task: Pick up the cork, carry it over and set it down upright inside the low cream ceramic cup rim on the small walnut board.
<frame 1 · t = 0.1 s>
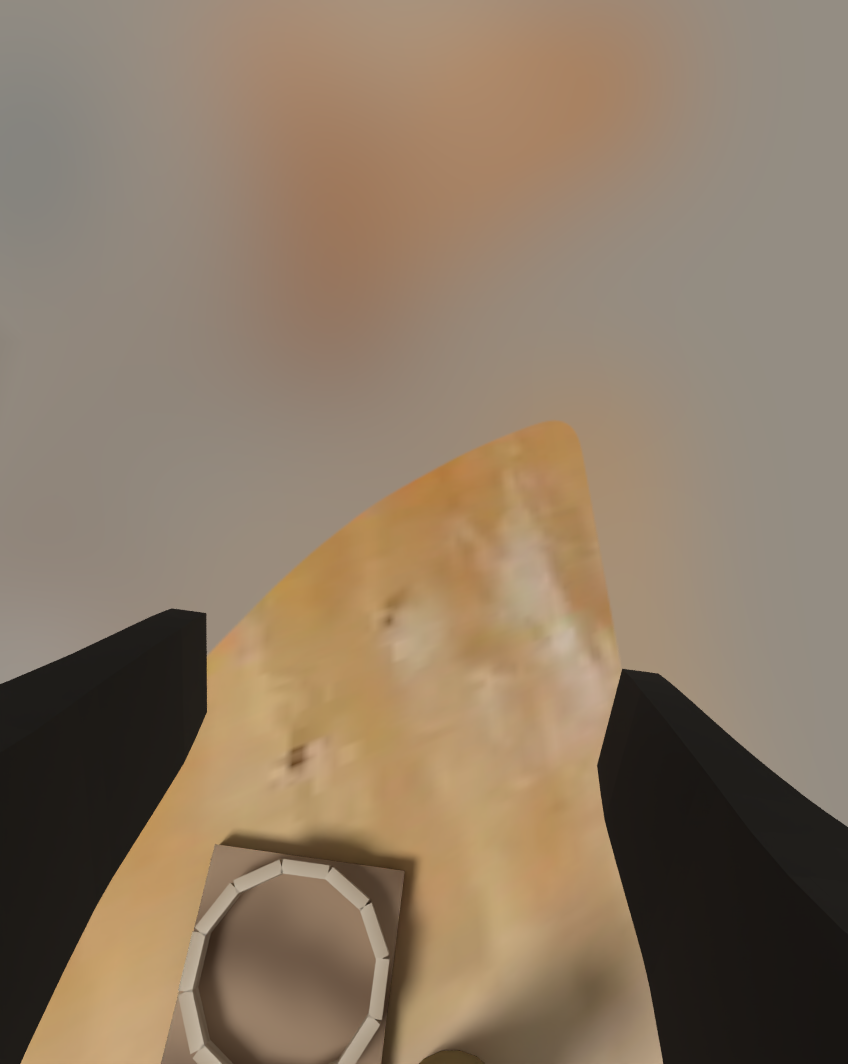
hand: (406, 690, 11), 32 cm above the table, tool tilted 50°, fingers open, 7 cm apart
cup holder: (291, 969, 36), on the table
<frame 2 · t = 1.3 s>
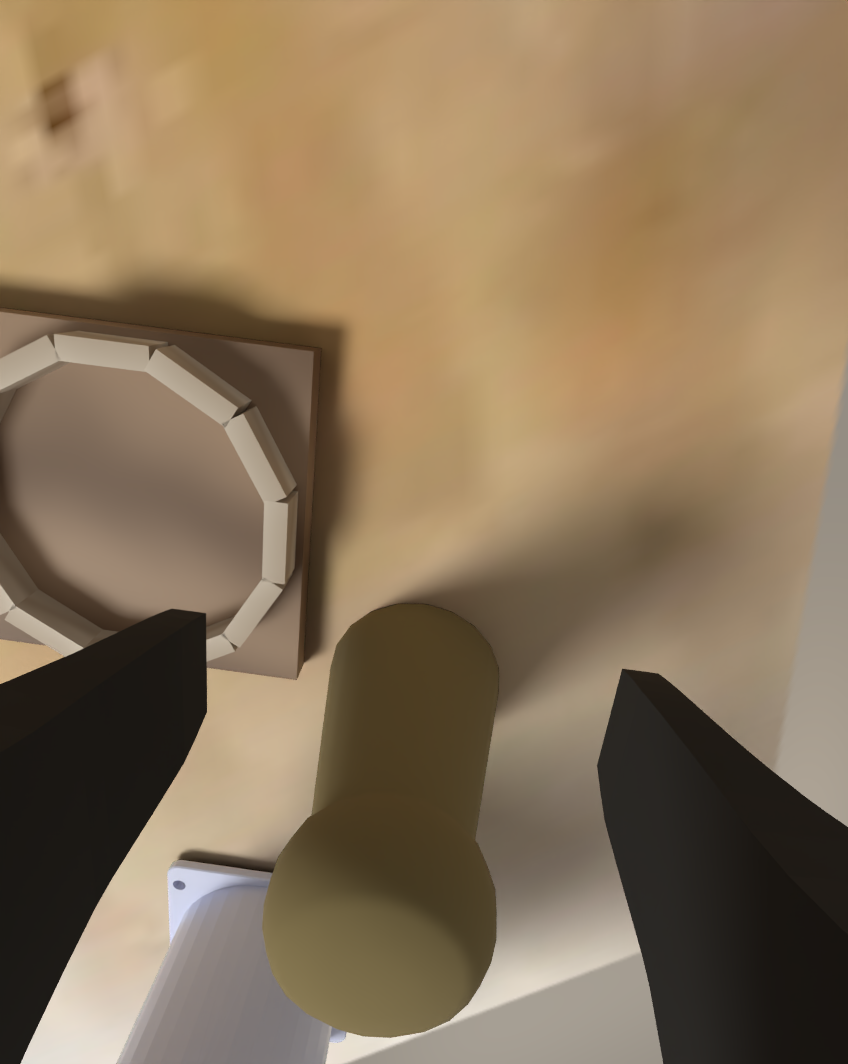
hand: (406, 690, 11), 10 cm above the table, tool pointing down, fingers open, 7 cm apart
cork: (414, 675, 24), on the table
cup holder: (146, 499, 22), on the table
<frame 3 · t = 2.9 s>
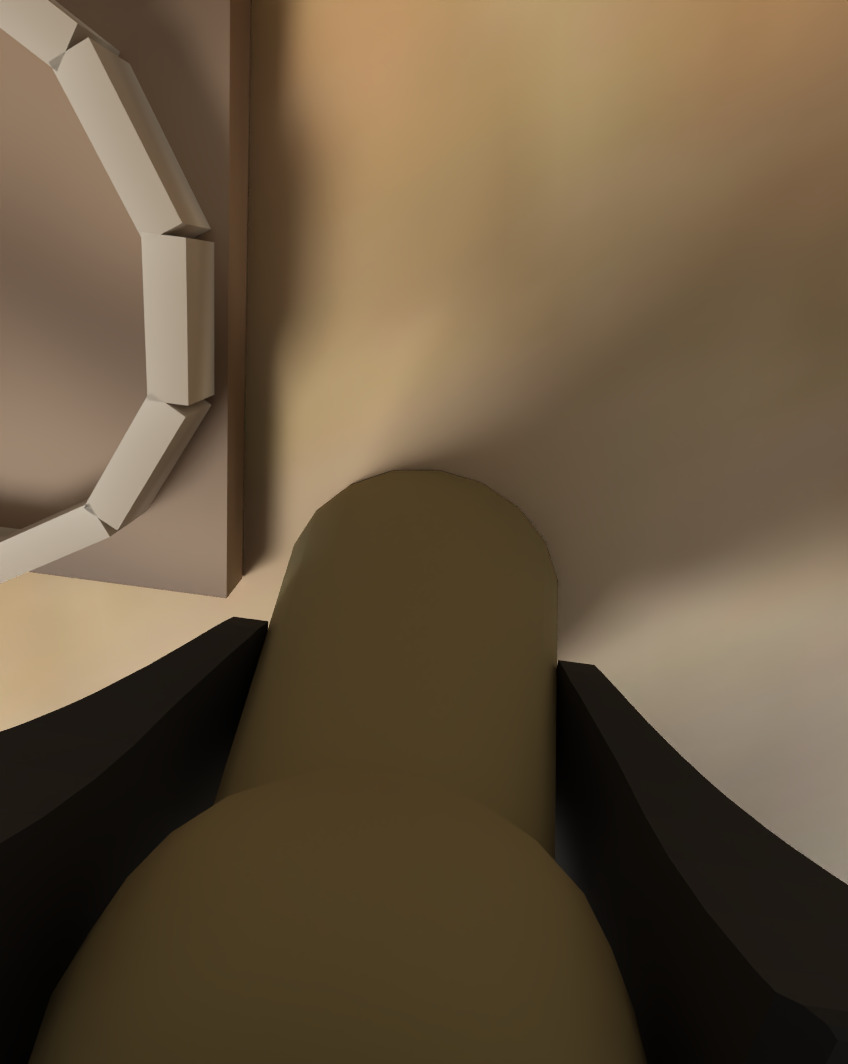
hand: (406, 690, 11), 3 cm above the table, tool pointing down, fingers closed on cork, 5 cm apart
cork: (421, 597, 15), on the table, touching gripper
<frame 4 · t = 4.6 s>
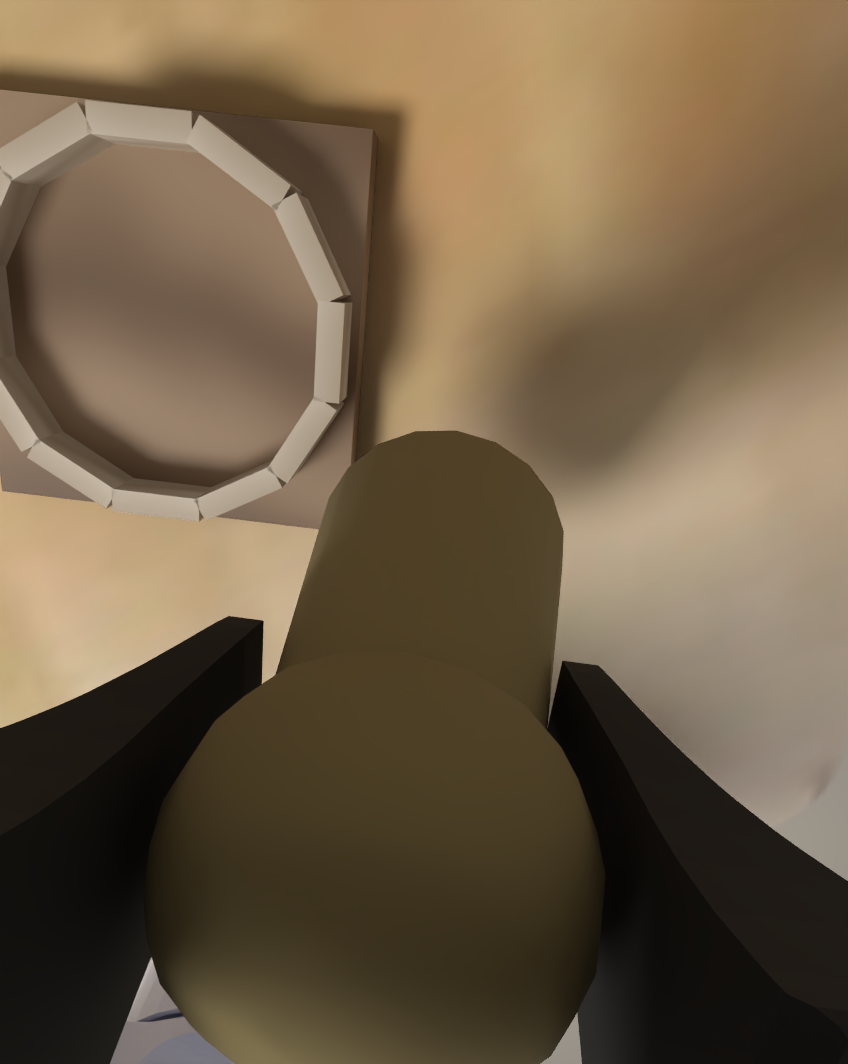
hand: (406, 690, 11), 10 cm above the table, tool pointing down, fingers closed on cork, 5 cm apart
cork: (441, 545, 16), point 5 cm above the table, touching gripper
cup holder: (181, 328, 20), on the table
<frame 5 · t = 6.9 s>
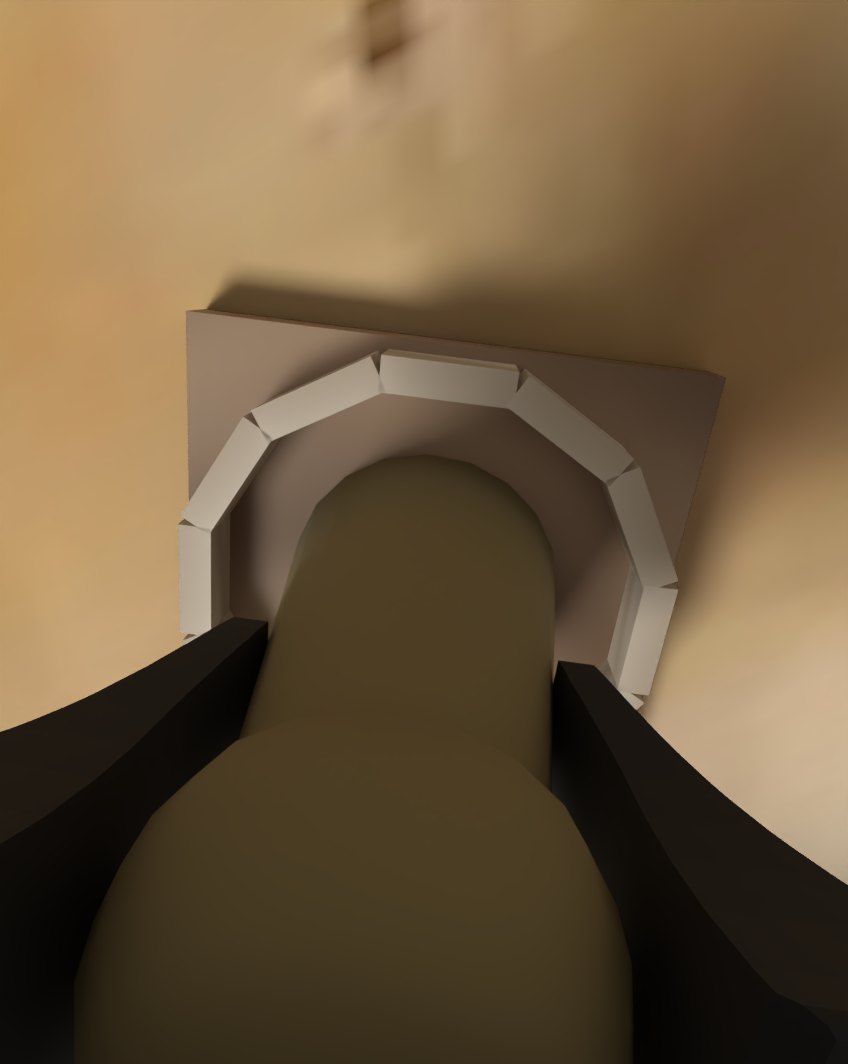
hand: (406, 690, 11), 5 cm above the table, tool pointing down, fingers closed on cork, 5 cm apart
cork: (424, 578, 15), point 1 cm above the table, touching cup holder, gripper
cup holder: (425, 570, 16), on the table
when the fingers open (5 cm above the table, at t = 7.5 s): cork stays where it is, resting on cup holder.
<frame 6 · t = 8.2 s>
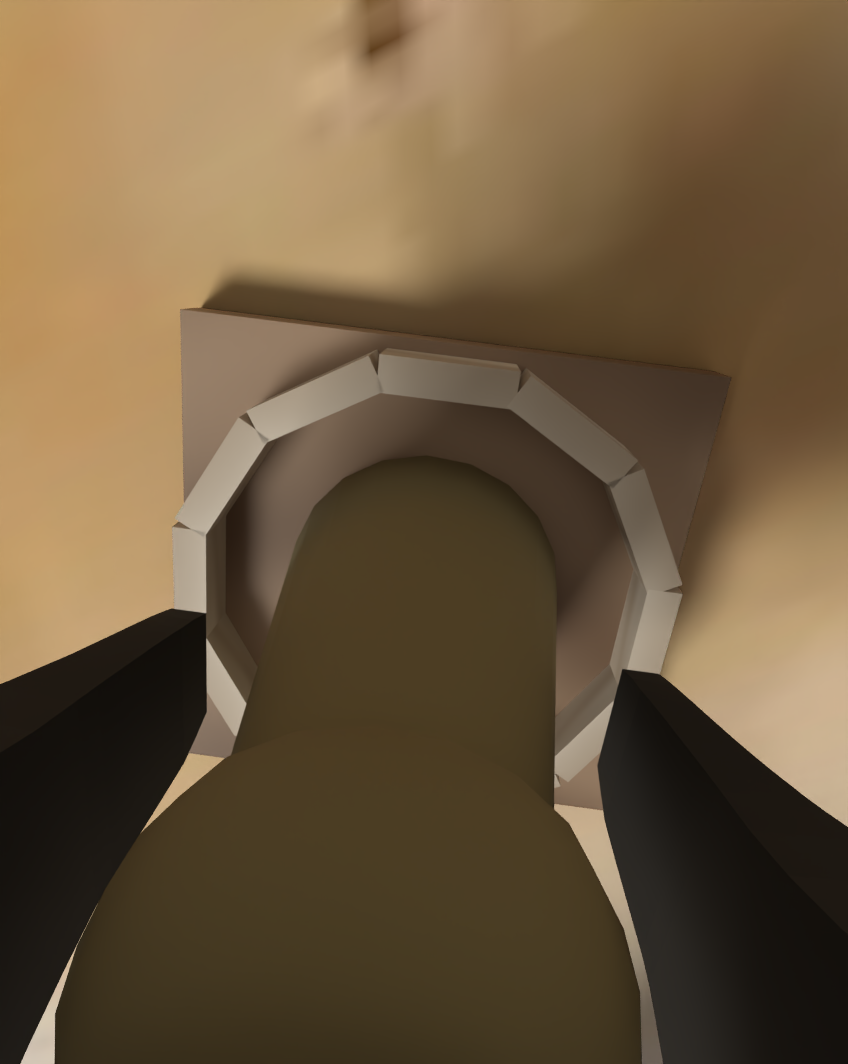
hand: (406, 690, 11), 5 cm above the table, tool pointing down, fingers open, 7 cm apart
cork: (423, 581, 15), point 1 cm above the table, touching cup holder
cup holder: (425, 573, 16), on the table
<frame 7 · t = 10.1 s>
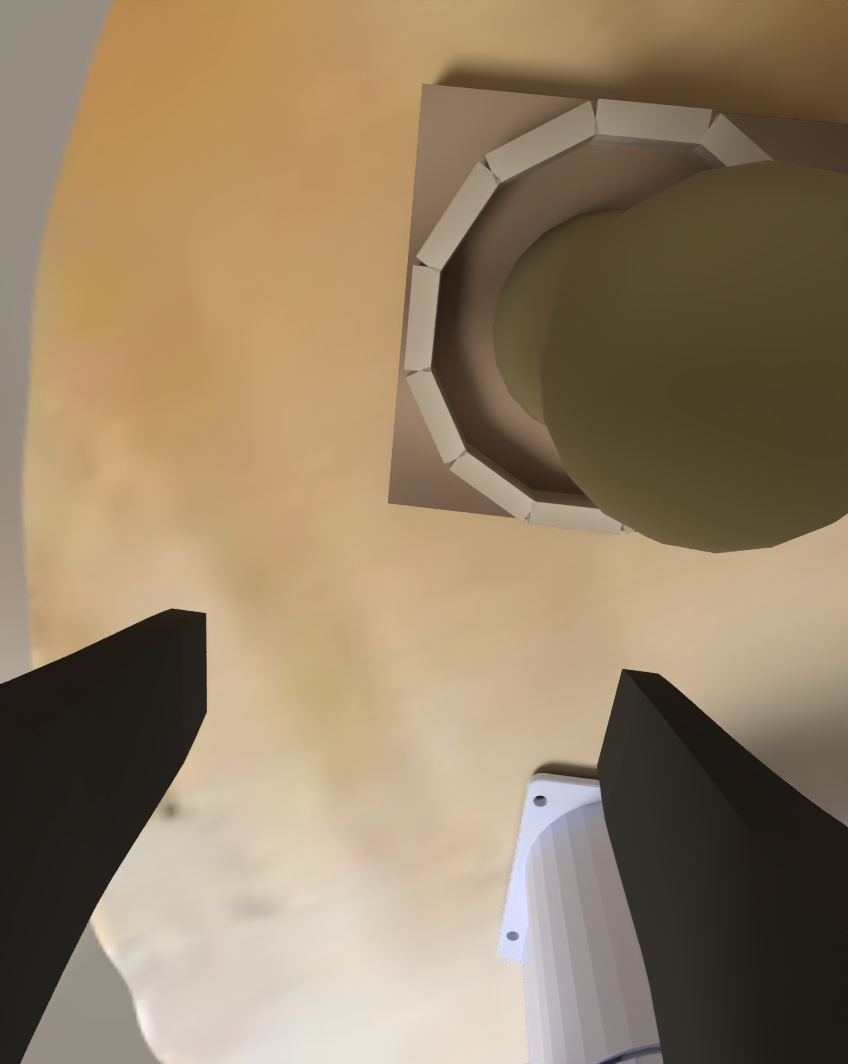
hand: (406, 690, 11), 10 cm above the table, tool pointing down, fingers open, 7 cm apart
cork: (601, 330, 18), point 1 cm above the table, touching cup holder
cup holder: (595, 334, 19), on the table
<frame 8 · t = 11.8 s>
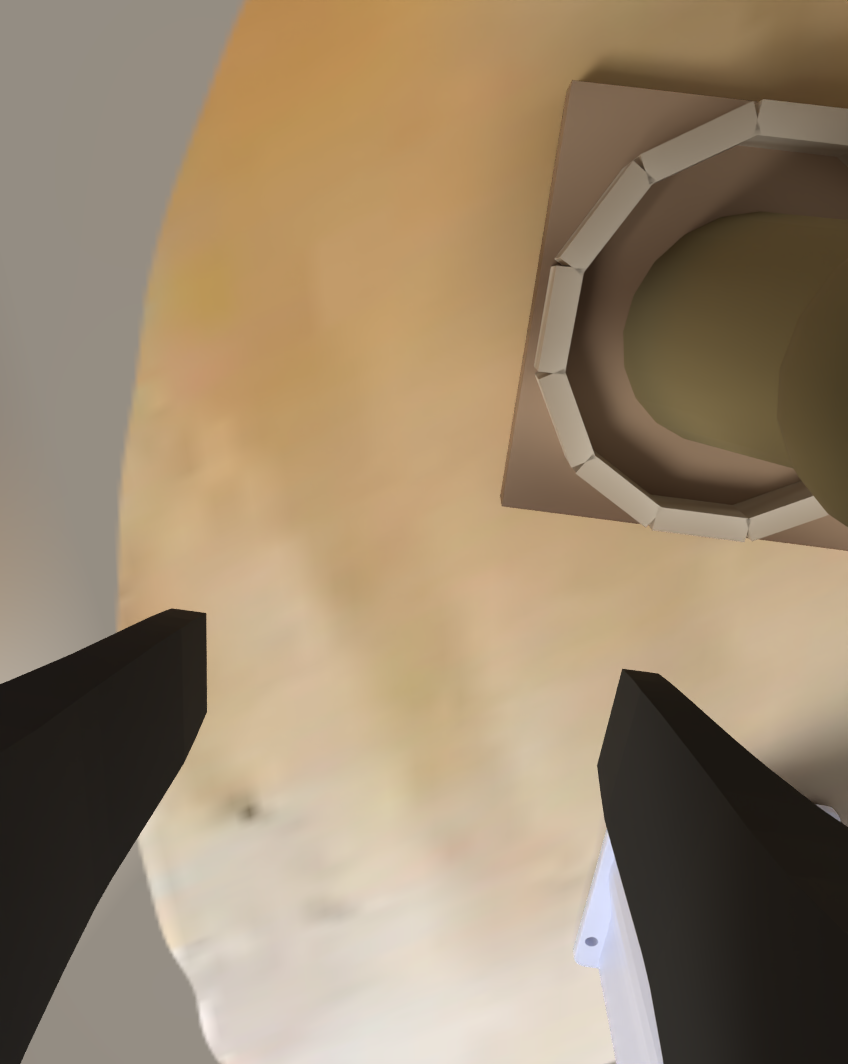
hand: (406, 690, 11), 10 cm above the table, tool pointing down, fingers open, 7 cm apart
cork: (733, 334, 18), point 1 cm above the table, touching cup holder
cup holder: (721, 338, 19), on the table
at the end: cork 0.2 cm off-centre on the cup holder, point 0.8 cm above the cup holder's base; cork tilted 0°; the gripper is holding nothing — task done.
